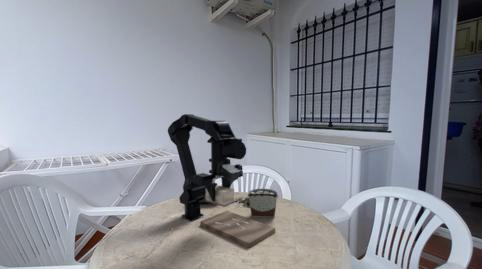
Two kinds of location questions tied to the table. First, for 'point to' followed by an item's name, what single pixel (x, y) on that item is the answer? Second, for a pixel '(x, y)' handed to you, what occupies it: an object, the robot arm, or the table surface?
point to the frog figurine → (242, 201)
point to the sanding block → (221, 196)
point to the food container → (262, 202)
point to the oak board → (238, 228)
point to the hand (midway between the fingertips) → (219, 199)
